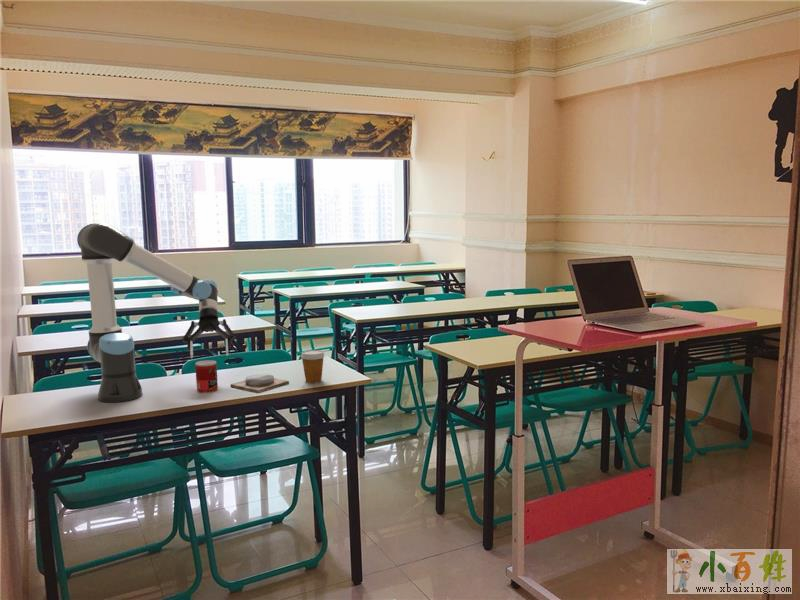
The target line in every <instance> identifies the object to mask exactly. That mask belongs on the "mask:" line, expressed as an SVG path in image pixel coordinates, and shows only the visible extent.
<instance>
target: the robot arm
mask: <svg viewBox="0 0 800 600" xmlns="http://www.w3.org/2000/svg"><path fill="white" fill-rule="evenodd" d="M76 240H77V241H76V242H77V245H78V247H79V248H80V253H81V255H80V256H81V262H84V263H85V264H86V269H87V279H88V280H87V281H88V290H89V292H88V293H89V300H90V301H89V302H90V312H91V320H92V321H91V322H92V326H91V328H90V329H89V330H88V338H89V339H88V342H87V344H86V345H87V346H86V347H87V348H86V349H87V352H88V354H89V356H90V358H92V359H93V360H94V361H96V362H97V363H99V364H100V369H101V371H100V372H101V381H100V384H99V389H98V393H97V396H98V397H97V398H98V401H99V402H103V403H119V402H127V401H131V400H134V399H138V398H140V397H141V396H143V387H142V386H141V383H140V381H139V378H138V377H137V374H136V373H137V371H136V369H137V368H136V360H135V359H136V357H135V356H136V355H135V342H134V338H133V337H132V335H130V334H128V333H123V330H122V329H123V328H122V327H121V326H120V325H119V324H118V323H117V309H116V308H117V307H116V299H115V296H116V295H115V287H114V286H115V285H114V276H113V265H112V264H113V262H114V261H115V260H117V261H118V262H121V263H122V262H126V263H128V264H129V265H132V266H133V267H135V268H138V269H139V270H141V271H143V272H145V273H147V274H149V275H151V276H153V277H154V278H156V279H159V280H160V281H162V282H164V283H165V284H167V285H169V286H170V291H171V292H172V293H174V294H177V295H180V296H183V297H187V298H190V299H193V300H197V301H198V312H199V314H198V316H199V317H198V322H197V321H196V322H195V321H194V320H191V323H190V326H189V328H188V329H187V331H186V332H185V334H184V336H183V337H182V343H183V344H186V345H187V351H189V354H190V355H189V356H190V359H193V358H194V344H193V342H194V341H195V340H197V339H198V337H199V336H200V335H202V334H203V333H213V332H215V333H217V334H218V335H220V336H221V337H222V338H223V339H224V340H225V351H226V352H225V354H226V356H227V357H228V356H229V349H231V345H232V341H235V340H236V335H235V333H234V332H233V331H232V329H231V327H230V326H229V325H228V324H227V320H226V318H225V319H222V320H219V307H218V305H219V304H218V303H219V302H218V300H219V299H218V291H219V290H218V287H217V285H218V284H217V283H216V282H215V280H212V279H210V278H209V279H205V278H204V279H200V278H198V277H196V276H194V275H192V274H191V273H189V272H187V271H185V270H184V269H182V268H180V267H179V266H176V265H174V264H173V263H170V262H169V261H168V260H166V259H164V258H162V257H160V256H159V255H157V254H155V253H153V252H151V251H149V250H148V249H146V248H144V247H142V246H141V245H139V244H137V243H136V242H135V239H134V238H132V237H131V236H128V235H127V234H125V233H124V232H122V231H121V230H119V229H118V228H116V227H115V226H112V225H110V224H108V223H89V224H87V225H85V226H83V227H82V228H81V229H80V230H79V232H78V234H77V236H76ZM220 325H221V326H222V327H223V328H224V330H225V331H224V330H223V329H222V328H221V327H220ZM197 326H198V328H197ZM196 328H197V329H196ZM195 329H196V331H194V330H195Z"/></svg>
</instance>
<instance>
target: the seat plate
mask: <svg viewBox="0 0 800 600" xmlns="http://www.w3.org/2000/svg"><path fill="white" fill-rule="evenodd" d="M287 383H290V381H289V380H286V379H282V378H280V379H279V378H276V377H275V378H274V375H272V374H269V373H268V374H266V373H265V374H264V373H263V374H262V373H261V374H259V373H258V374H252V375H249V376H247V377H245V380H241V381H237V382H235V383H231V384H230V387H231V388H235V389H239V390H243V389H245V390H244V391H248V390H250V391H249V392H252V391H255V392H254V393H257V392H259V393H261V392H260V391H262V392H264V391H263V390H266V391H268V390H267V389H269V390H271V389H270V388H272V389H275V388H274V387H276V388H278V387H277V386H279V387H281V386H280V385H282V386H284V385H283V384H285V385H288V384H287Z"/></svg>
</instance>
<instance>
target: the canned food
mask: <svg viewBox="0 0 800 600" xmlns="http://www.w3.org/2000/svg"><path fill="white" fill-rule="evenodd" d="M194 366H195V383H196V390H197V392H198V391H199V392H198V393H204V392H206V393H212V391H213V392H216V391H218V388H219V387H218V386H219V385H218V383H219V382H218V367H217V361H216V360H207V359H206V360H199V361H196V362H195V365H194Z"/></svg>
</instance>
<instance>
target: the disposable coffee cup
mask: <svg viewBox="0 0 800 600" xmlns="http://www.w3.org/2000/svg"><path fill="white" fill-rule="evenodd" d="M300 357H301V360H302V366H303V367H302V368H303V372H304V378H305V382H306V383H309V384H317V383H321V382H322V377H323V367H324V358H325V352H324V351H323V350H321V349H320V350H319V349H308V350H304V351H301V355H300ZM320 381H321V382H320Z"/></svg>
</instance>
